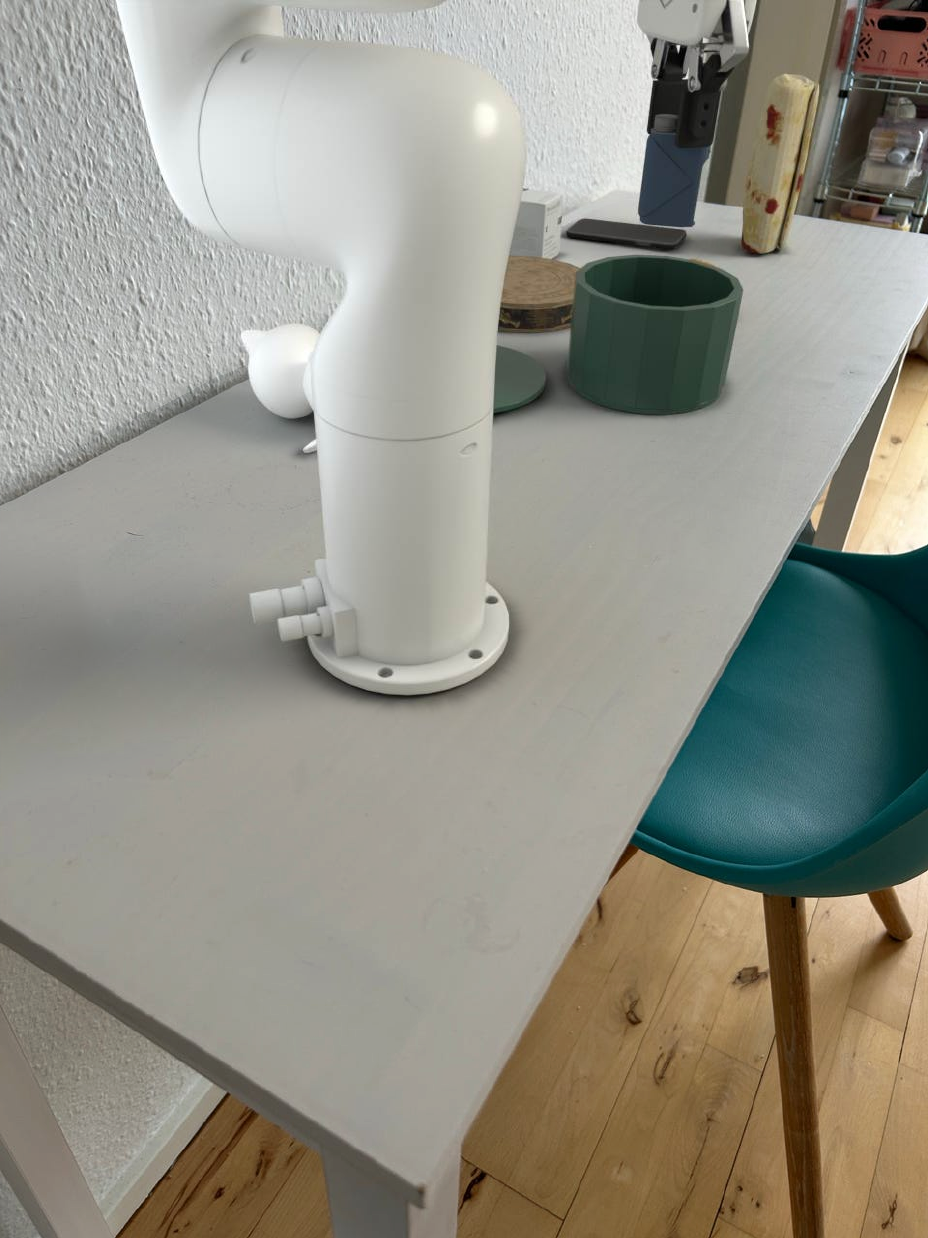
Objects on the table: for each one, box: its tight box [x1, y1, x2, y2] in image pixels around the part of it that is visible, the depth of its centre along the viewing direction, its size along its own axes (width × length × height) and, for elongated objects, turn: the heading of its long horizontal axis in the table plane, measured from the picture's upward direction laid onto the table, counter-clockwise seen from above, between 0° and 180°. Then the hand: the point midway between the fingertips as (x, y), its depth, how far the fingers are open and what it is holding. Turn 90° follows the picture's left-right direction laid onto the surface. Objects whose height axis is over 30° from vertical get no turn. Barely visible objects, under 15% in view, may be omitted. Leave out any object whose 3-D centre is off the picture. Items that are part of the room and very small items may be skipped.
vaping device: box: [637, 62, 712, 228], centre depth 78 cm, size 3×5×12 cm, turn 78°
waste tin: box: [566, 254, 744, 416], centre depth 88 cm, size 15×15×10 cm
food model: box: [740, 73, 820, 254], centre depth 118 cm, size 10×7×20 cm
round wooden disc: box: [498, 256, 581, 334], centre depth 105 cm, size 16×16×3 cm
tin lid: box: [493, 344, 547, 414], centre depth 87 cm, size 16×16×7 cm
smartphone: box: [566, 218, 687, 251], centre depth 127 cm, size 7×1×15 cm
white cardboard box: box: [509, 187, 564, 259], centre depth 117 cm, size 6×6×7 cm
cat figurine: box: [240, 322, 321, 454], centre depth 80 cm, size 9×11×12 cm
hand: (678, 137), depth 78 cm, fingers closed on vaping device, 4 cm apart
